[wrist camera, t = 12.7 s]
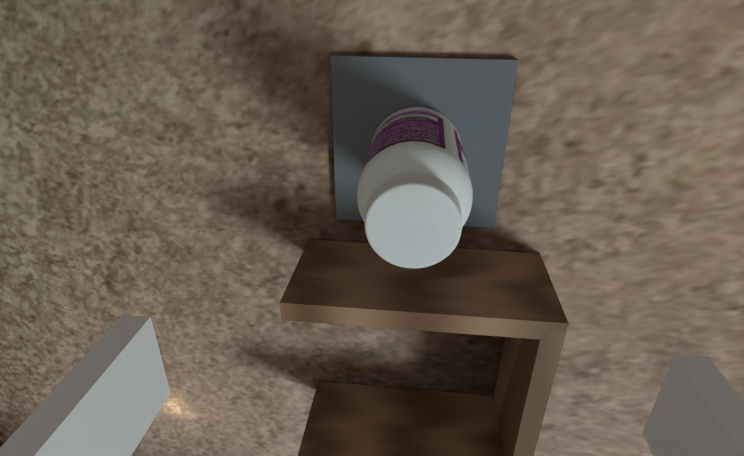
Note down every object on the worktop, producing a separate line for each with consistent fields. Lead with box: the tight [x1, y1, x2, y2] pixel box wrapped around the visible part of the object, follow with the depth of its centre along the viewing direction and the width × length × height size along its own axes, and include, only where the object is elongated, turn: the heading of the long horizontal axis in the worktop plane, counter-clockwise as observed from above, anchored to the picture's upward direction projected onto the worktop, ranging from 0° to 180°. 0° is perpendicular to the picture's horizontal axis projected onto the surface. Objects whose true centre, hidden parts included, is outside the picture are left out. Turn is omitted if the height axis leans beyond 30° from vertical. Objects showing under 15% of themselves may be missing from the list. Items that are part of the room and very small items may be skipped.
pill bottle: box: [357, 107, 473, 268], centre depth 23 cm, size 5×5×10 cm
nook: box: [280, 239, 568, 456], centre depth 31 cm, size 15×14×7 cm
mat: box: [330, 55, 518, 228], centre depth 27 cm, size 10×10×1 cm
